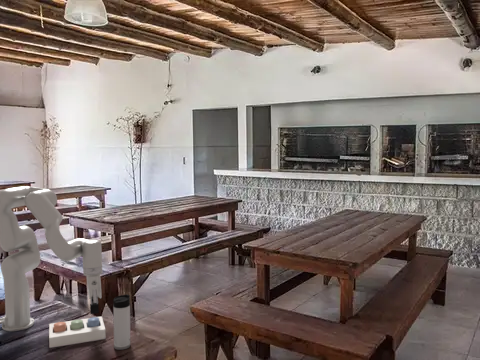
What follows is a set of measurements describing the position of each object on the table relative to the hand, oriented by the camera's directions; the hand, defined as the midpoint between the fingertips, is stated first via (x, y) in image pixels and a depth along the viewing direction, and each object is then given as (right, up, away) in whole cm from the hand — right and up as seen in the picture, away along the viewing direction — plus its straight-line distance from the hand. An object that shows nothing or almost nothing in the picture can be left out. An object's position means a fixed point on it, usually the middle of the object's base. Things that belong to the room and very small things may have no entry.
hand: (94, 312), depth 183 cm
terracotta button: (-13, -7, -4) cm, 15 cm away
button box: (-7, -9, -2) cm, 11 cm away
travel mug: (+14, -10, -10) cm, 20 cm away
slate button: (-1, -7, +1) cm, 7 cm away
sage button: (-7, -7, -2) cm, 10 cm away
